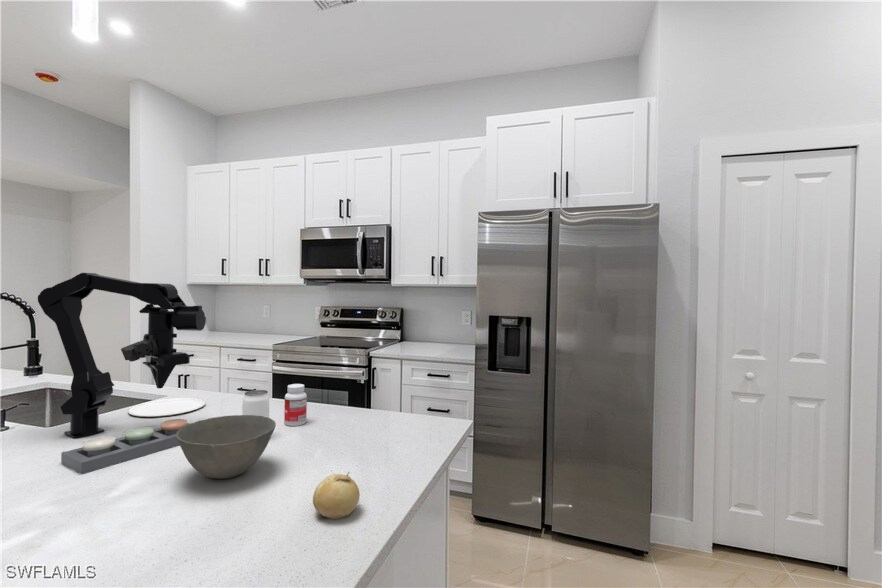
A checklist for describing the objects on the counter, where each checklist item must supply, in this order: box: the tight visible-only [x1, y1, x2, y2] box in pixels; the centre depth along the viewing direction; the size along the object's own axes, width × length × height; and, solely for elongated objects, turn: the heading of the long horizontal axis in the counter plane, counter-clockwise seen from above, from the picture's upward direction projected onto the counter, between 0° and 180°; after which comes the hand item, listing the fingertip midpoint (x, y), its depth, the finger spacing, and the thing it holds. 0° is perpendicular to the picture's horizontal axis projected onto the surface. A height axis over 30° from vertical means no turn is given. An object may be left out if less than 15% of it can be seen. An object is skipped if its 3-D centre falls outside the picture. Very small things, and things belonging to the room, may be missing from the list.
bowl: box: [176, 414, 277, 480], centre depth 89 cm, size 19×19×10 cm
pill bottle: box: [283, 383, 308, 427], centre depth 123 cm, size 6×6×11 cm
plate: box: [127, 397, 206, 418], centre depth 135 cm, size 21×21×1 cm
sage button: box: [124, 426, 154, 446], centre depth 101 cm, size 6×6×4 cm
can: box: [241, 389, 270, 418], centre depth 111 cm, size 6×6×12 cm
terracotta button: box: [160, 418, 188, 436], centre depth 108 cm, size 6×6×4 cm
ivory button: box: [82, 436, 116, 458], centre depth 94 cm, size 6×6×4 cm
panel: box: [60, 422, 190, 475], centre depth 101 cm, size 10×26×2 cm, turn 150°
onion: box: [312, 471, 361, 519], centre depth 75 cm, size 8×8×7 cm
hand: (159, 388), depth 113 cm, fingers closed
